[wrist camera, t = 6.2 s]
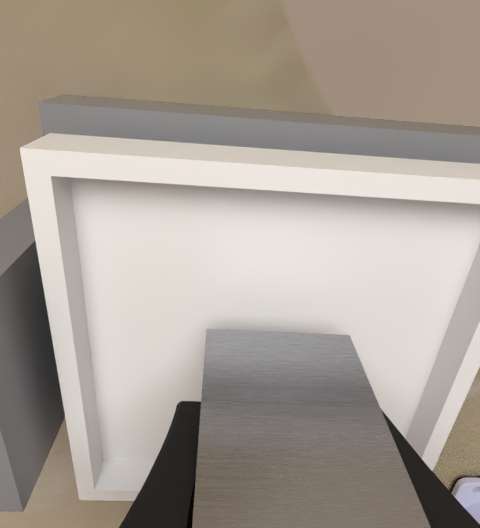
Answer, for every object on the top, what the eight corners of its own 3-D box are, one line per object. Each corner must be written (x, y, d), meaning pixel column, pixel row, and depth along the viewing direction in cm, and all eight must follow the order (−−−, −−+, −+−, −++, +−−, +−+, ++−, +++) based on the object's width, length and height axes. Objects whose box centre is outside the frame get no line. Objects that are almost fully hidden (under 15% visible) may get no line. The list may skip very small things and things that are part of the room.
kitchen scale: (484, 127, 14) (688, 191, 8) (385, 418, 21) (454, 579, 14) (-7, 89, 13) (-217, 128, 7) (52, 408, 20) (-28, 575, 13)
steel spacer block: (349, 335, 12) (453, 581, 6) (324, 433, 13) (388, 687, 8) (206, 328, 11) (188, 578, 6) (201, 429, 13) (184, 689, 8)
